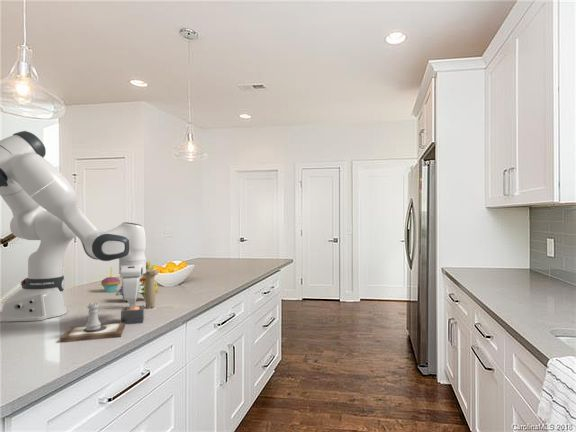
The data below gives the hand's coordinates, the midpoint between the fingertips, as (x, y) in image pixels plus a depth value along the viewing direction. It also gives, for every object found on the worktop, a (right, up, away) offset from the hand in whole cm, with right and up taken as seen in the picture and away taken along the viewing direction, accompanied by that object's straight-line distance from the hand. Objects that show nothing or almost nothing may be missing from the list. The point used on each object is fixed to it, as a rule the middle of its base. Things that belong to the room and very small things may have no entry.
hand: (132, 307), depth 132 cm
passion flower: (-14, -5, +34) cm, 38 cm away
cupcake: (-34, -6, +55) cm, 65 cm away
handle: (-1, -5, +21) cm, 21 cm away
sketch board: (-6, -5, -14) cm, 16 cm away
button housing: (0, -5, 0) cm, 5 cm away
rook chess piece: (-6, -3, -15) cm, 16 cm away
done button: (0, -3, 0) cm, 3 cm away
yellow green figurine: (-15, -5, +52) cm, 54 cm away
